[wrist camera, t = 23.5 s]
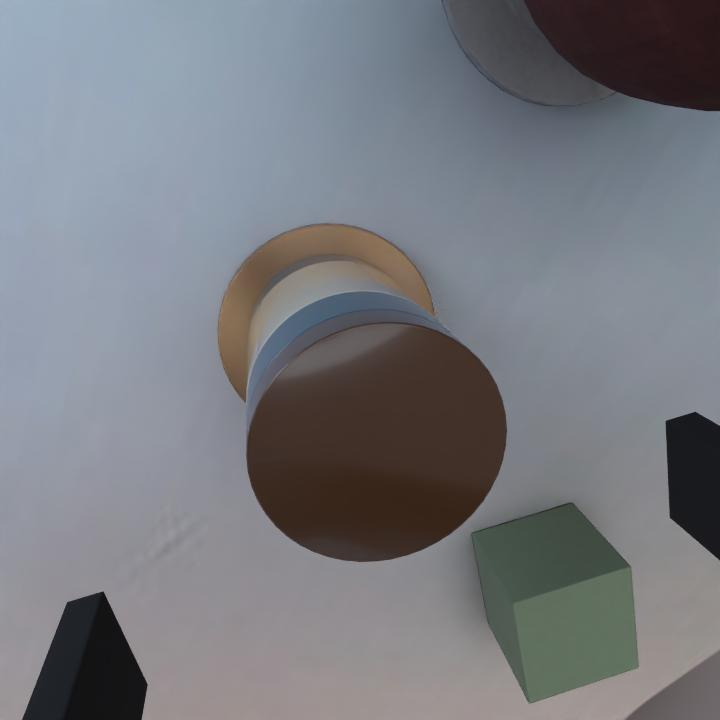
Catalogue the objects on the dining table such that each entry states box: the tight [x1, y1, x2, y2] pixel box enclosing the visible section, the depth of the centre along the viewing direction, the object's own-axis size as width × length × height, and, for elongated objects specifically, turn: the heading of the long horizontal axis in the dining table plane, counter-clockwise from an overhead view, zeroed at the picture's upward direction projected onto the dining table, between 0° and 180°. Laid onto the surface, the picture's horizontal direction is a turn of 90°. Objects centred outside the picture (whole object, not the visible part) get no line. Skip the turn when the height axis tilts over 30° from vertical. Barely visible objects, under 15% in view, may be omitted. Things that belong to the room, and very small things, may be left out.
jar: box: [246, 254, 507, 562], centre depth 24 cm, size 14×8×14 cm
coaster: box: [218, 224, 435, 403], centre depth 30 cm, size 11×11×1 cm
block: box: [472, 503, 639, 703], centre depth 34 cm, size 7×6×6 cm
